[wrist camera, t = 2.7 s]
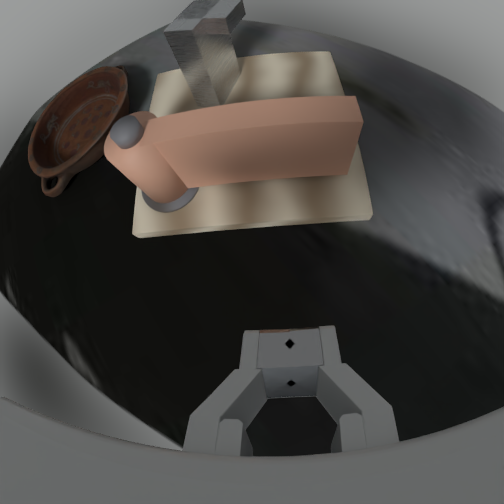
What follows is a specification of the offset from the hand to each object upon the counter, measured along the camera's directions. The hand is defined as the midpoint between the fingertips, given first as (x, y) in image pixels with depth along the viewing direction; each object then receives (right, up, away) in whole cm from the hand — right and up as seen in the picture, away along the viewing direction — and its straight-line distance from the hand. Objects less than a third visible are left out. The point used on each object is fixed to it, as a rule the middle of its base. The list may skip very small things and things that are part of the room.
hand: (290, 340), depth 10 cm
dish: (-24, +20, +25) cm, 40 cm away
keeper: (-4, +22, +21) cm, 30 cm away
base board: (-2, +16, +21) cm, 26 cm away
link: (-2, +11, +17) cm, 20 cm away
